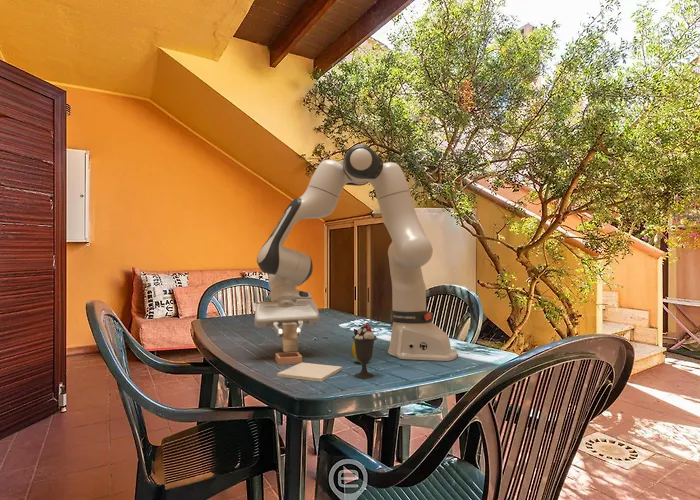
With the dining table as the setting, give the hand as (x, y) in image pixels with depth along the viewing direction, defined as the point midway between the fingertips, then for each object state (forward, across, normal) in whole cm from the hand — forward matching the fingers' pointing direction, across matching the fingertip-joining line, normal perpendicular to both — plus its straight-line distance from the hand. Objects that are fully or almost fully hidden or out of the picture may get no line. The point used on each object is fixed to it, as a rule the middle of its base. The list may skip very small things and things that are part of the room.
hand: (289, 335), depth 126 cm
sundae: (+22, +16, -10) cm, 29 cm away
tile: (+16, +3, -5) cm, 17 cm away
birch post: (+3, 0, +3) cm, 4 cm away
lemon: (+12, +20, 0) cm, 23 cm away
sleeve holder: (+6, 0, +6) cm, 8 cm away
